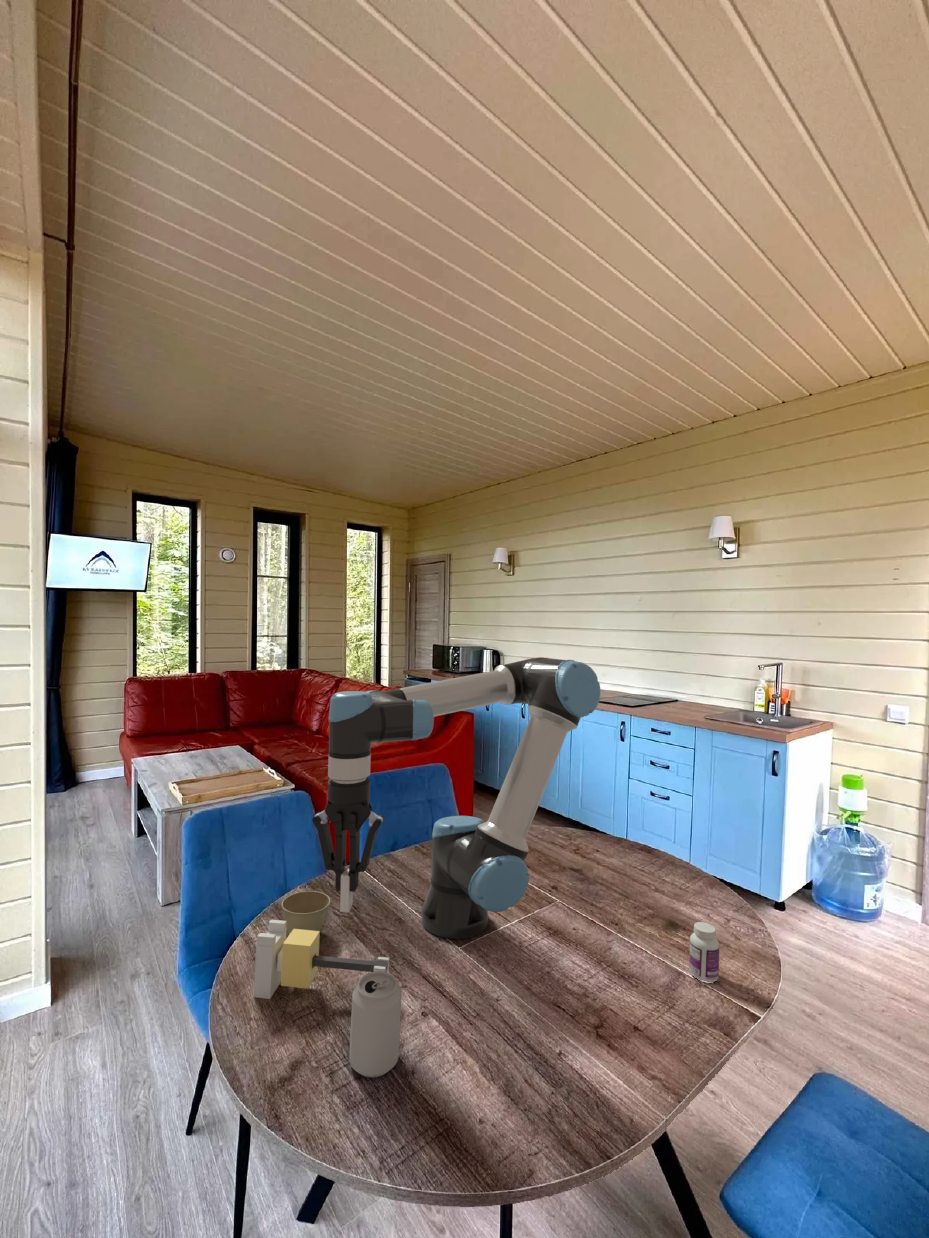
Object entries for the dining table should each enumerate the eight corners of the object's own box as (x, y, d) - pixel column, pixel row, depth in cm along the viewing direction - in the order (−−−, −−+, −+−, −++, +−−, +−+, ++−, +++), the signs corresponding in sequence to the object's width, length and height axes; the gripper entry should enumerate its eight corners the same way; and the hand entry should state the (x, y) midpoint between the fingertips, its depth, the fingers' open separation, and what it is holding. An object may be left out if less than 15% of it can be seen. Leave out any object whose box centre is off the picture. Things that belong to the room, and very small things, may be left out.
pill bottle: (716, 971, 110) (718, 923, 110) (719, 987, 105) (721, 936, 105) (687, 964, 112) (689, 917, 112) (689, 980, 107) (691, 930, 107)
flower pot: (315, 952, 110) (317, 916, 110) (270, 944, 112) (272, 909, 112) (336, 926, 120) (338, 893, 120) (294, 919, 122) (296, 887, 122)
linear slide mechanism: (389, 987, 100) (391, 929, 101) (381, 1010, 94) (384, 948, 95) (268, 975, 102) (271, 918, 103) (253, 997, 96) (256, 936, 97)
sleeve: (317, 971, 101) (319, 931, 101) (308, 988, 96) (310, 945, 96) (291, 968, 101) (293, 928, 102) (280, 985, 97) (282, 943, 97)
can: (352, 1043, 87) (355, 967, 87) (399, 1042, 87) (402, 966, 88) (345, 1082, 79) (349, 999, 80) (397, 1081, 80) (401, 998, 80)
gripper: (389, 773, 102) (386, 899, 102) (321, 770, 103) (318, 895, 103) (379, 785, 95) (376, 921, 94) (306, 781, 96) (303, 916, 96)
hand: (346, 907), depth 99 cm, fingers closed
